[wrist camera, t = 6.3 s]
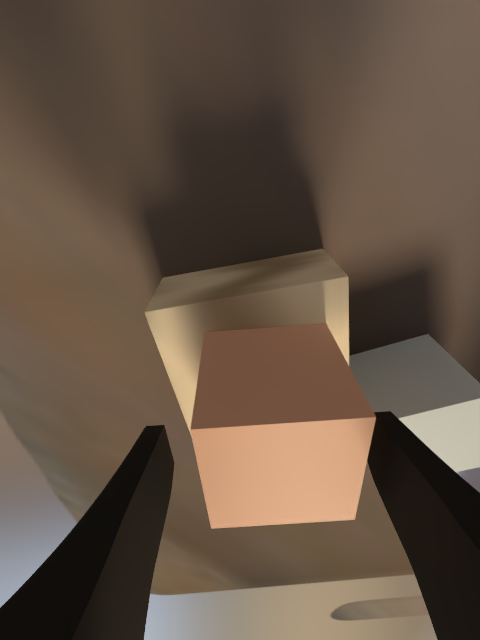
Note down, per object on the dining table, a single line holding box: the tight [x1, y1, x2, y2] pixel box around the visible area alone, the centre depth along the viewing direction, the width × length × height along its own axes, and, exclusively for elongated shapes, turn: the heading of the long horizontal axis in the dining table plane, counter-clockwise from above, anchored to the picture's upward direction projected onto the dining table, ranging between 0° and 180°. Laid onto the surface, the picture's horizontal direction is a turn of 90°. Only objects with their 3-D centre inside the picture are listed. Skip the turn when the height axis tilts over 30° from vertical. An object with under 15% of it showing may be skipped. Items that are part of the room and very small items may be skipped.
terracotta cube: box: [190, 323, 376, 529], centre depth 12 cm, size 5×5×5 cm
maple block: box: [144, 249, 349, 436], centre depth 16 cm, size 8×8×4 cm
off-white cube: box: [349, 334, 480, 472], centre depth 17 cm, size 5×5×5 cm
